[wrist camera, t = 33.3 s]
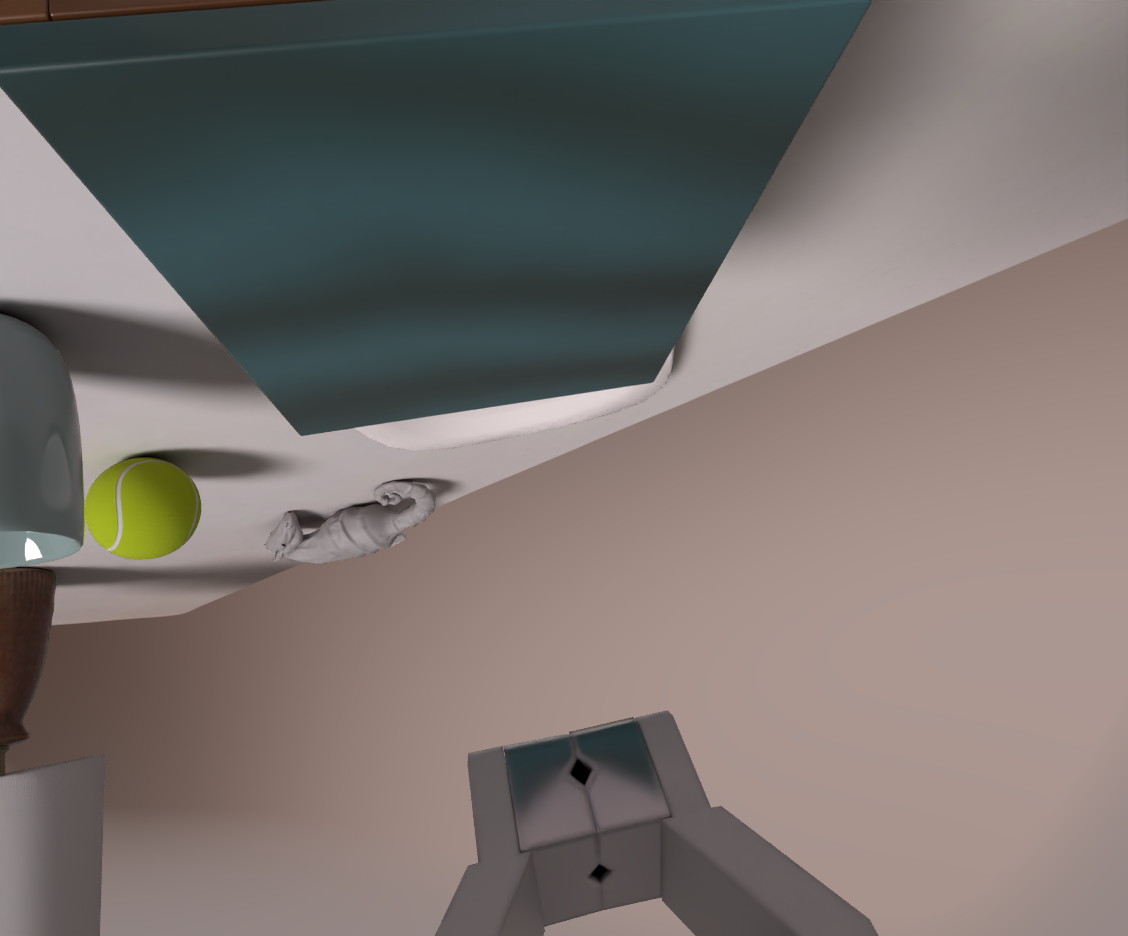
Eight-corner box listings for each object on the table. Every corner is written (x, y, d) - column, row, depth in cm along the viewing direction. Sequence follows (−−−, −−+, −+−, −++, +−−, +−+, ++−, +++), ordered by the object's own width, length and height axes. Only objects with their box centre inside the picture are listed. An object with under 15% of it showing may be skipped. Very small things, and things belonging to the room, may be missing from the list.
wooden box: (604, 144, 29) (653, 354, 27) (266, 180, 27) (291, 407, 25) (725, -429, 14) (860, -46, 12) (-21, -429, 12) (-18, 19, 10)
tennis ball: (68, 472, 52) (71, 571, 50) (103, 440, 47) (108, 548, 46) (173, 476, 57) (180, 566, 55) (214, 448, 53) (222, 545, 51)
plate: (673, 241, 37) (681, 272, 36) (666, 383, 58) (671, 404, 57) (257, 338, 38) (260, 369, 38) (398, 442, 59) (401, 463, 59)
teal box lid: (649, 363, 27) (654, 383, 27) (297, 415, 26) (300, 437, 26) (861, -44, 12) (876, -2, 11) (-17, 22, 10) (-16, 72, 10)
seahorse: (363, 484, 65) (243, 566, 76) (462, 527, 73) (341, 596, 83) (367, 437, 68) (251, 522, 79) (461, 483, 76) (345, 555, 86)
